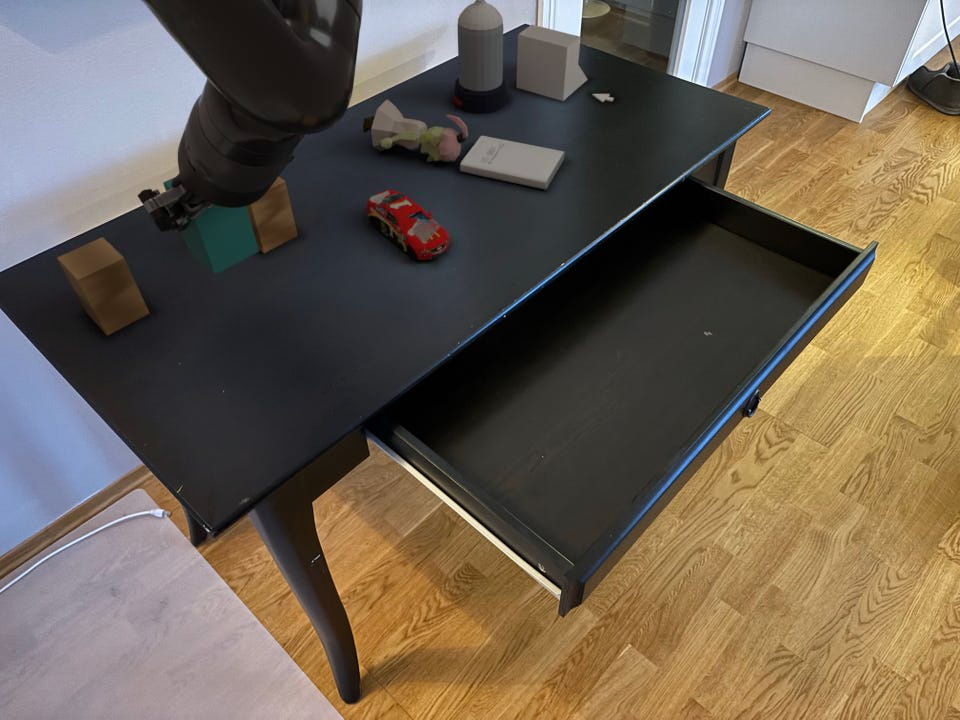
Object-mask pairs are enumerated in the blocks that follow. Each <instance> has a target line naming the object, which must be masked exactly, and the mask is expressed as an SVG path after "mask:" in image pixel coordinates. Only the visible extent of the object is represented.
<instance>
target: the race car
mask: <svg viewBox="0 0 960 720" xmlns="http://www.w3.org/2000/svg"><path fill="white" fill-rule="evenodd" d="M365 209H366V215H367V218H368V221H369V222H370V223H371V224H372V226H373V228H374V229H375V230H377V231H379V232H381V233H382V234H383V235H385V236H386V237H387V238H389V239H390V240H391V241H392V242H393V243H395V244H396V245H397V246H399V248H401V249H402V250H403V251H405V252H406V253H408V255H409V257H410V259H412V260H413V261H416V260H419V261H425V260H426V261H429V260H432V259H437V258H439V257H441V256H442V255H444V254H445V253H446V252H447V251H448V250H449V247H450V245H451V244H450V241H451V238H450V234H449V233H448V231H447V229H445V228H444V227H443V226H441V224H439V223H438V222H437V221H436V220H435V219H434V218H433V217H432V215H433V214H434V213H433V211H430V212H427V211H426V210H425V209H424V208H423V207H421V206H420V205H419V204H418V203H416V202H415V201H414V200H412V199H411V198H409V197H408V196H406V195H404V194H403V193H400V192H399V191H396V190H394V189H393V190H391V189H385V190H383V191H381V192H378V193H376V194H373V195H372V196H370V197H369V199H368V200H367V203H366V208H365Z"/></svg>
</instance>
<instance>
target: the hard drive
mask: <svg viewBox="0 0 960 720" xmlns="http://www.w3.org/2000/svg"><path fill="white" fill-rule="evenodd" d="M565 153H566V152H565V151H564V150H563V151H562V150H558V149H554V148H548V147H544V146H538V145H532V144H528V143H523V142H517V141H512V140H508V139H503V138H496V137H492V136H487V135H480V136H479V137H478V139H476V142H475V143H474V144H473V146H471V148H470V150H468V152H467V154H466V155H465V156H464V157H463V159H462V160H461V161H460V164H459V171H460V172H462V173H466V174H467V173H468V174H471V175H474V176H475V175H476V176H480V177H485V178H489V179H494V180H498V181H504V182H508V183H512V184H518V185H523V186H526V187H531V188H536V189H540V190H548V188H549V186H550V185H551V183H552V181H553V180H554V178H555V176H556V175H557V173H558V171H559V169H560V167H561V166H562V164H563V162H564V160H565V155H566V154H565Z"/></svg>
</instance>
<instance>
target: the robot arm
mask: <svg viewBox="0 0 960 720" xmlns="http://www.w3.org/2000/svg"><path fill="white" fill-rule="evenodd" d="M140 1H141V2H142V3H143V4H144V5H145V6H146V8H147V9H148V10H149V11H150V12H151V13H152V15H153V16H154V17H155V18H156V20H157V21H158V23H159V24H160V25H161V26H162V27H163V29H164V30H165V32H167V34H168V35H169V36H170V37H171V38H172V39H173V41H175V43H176V44H177V45H178V46H179V47H180V48H181V49H182V50H183V52H184V53H185V54H186V55H187V56H188V57H189V59H190V60H191V61H192V62H193V64H194V65H195V66H196V67H197V68H198V69H199V70H200V71H201V73H202V74H203V76H205V78H206V80H205V84H204V85H203V88H202V92H201V93H200V95H199V96H197V97H198V98H197V99H196V100H195V102H194V104H193V106H192V108H191V110H190V113H189V116H188V118H187V121H186V124H185V127H184V130H183V133H182V135H181V138H180V141H179V144H178V147H177V165H178V167H177V168H178V173H177V175H176V176H175V178H174V177H173V178H174V179H173V180H172V182H171V189H169V190H167V191H166V190H165V191H163V192H162V193H161V192H160V190H159V188H158V189H152V188H147V189H143V190H141V191H140V192H139V193H138V194H137V198H138V199H139V201H140V202H141V204H142V205H143V207H144V208H145V210H146V211H147V213H148V214H149V216H150V218H151V220H152V221H153V223H154V224H155V225H156V227H157V228H158V229H159V231H160V233H164V232H168V231H170V230H171V231H174V230H177V232H179V233H182V232H181V231H183V230H185V229H186V228H187V226H188V224H189V222H190V220H191V219H194V218H197V217H200V216H202V215H205V214H206V213H207V212H208V211H209V210H210V209H211V208H213V207H214V206H221V207H226V208H239V207H245V206H248V205H251V204H253V203H255V202H257V201H258V200H259V199H261V198H262V197H263V196H264V195H265V194H266V193H267V191H268V190H269V189H270V187H271V186H272V185H273V183H274V182H275V181H276V179H277V178H278V177H280V175H281V174H282V172H283V171H284V170H285V169H286V167H287V166H288V165H289V164H291V163H292V161H293V160H294V159H295V158H296V157H295V155H294V151H295V149H296V147H297V146H298V145H299V144H300V142H301V141H302V140H303V138H304V137H305V135H306V136H307V135H314V134H319V133H322V132H324V131H327V130H328V129H331V128H332V127H333V126H335V125H336V124H337V123H338V122H339V121H340V120H341V119H342V118H343V117H344V115H346V112H347V110H348V109H349V106H350V103H351V99H352V96H353V91H354V83H355V76H356V69H357V68H356V67H357V58H358V50H359V42H360V33H361V32H360V31H361V28H362V27H361V26H362V19H363V11H364V7H363V6H364V0H140Z"/></svg>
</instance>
